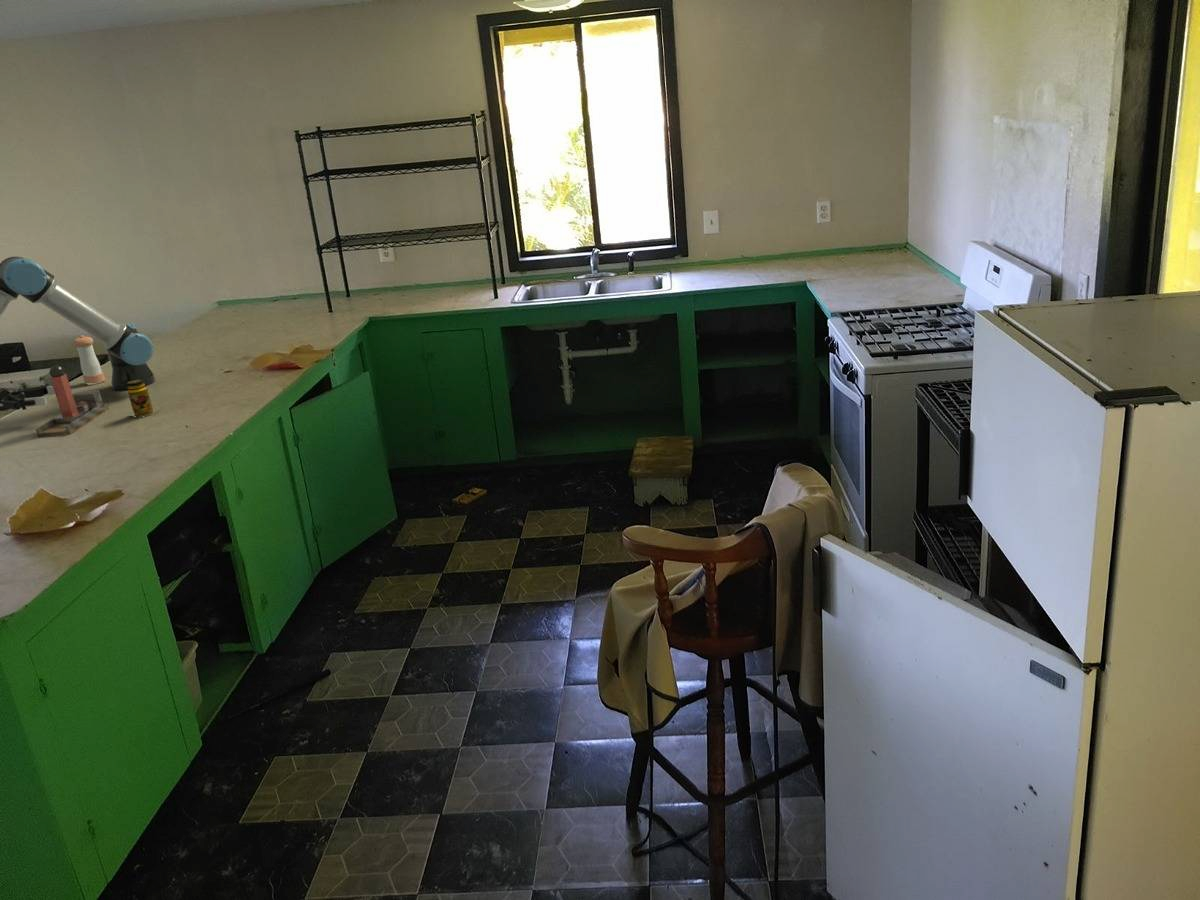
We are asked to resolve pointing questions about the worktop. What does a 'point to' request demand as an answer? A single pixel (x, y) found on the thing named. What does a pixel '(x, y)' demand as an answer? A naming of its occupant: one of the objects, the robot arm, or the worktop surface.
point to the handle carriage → (65, 397)
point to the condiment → (139, 398)
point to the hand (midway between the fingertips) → (56, 394)
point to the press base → (94, 408)
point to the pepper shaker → (88, 360)
